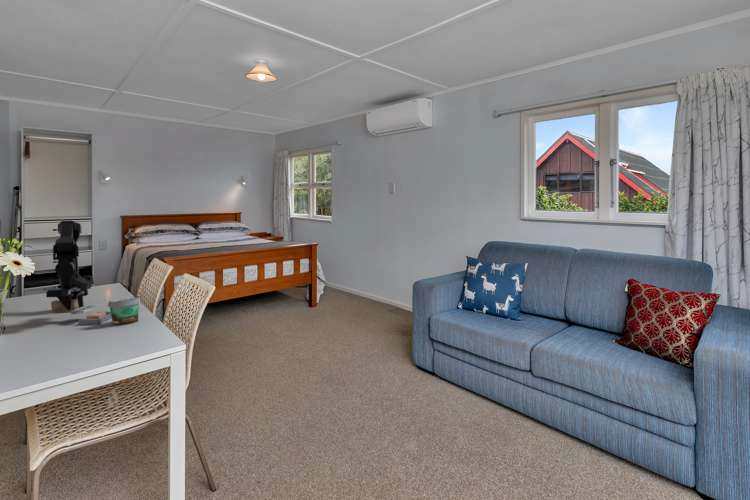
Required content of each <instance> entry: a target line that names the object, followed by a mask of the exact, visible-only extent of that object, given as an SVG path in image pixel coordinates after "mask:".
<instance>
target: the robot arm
mask: <svg viewBox="0 0 750 500" xmlns="http://www.w3.org/2000/svg"><path fill="white" fill-rule="evenodd" d="M82 231H83V230H82V225H81V223H79V222H76V221H74V220H61V221H59V223H57V233H58V234H59V238H58V239H56V240H55V242H54V244H53V245H52V246H53V247H52V256H53V257H52V260H53V261H57V264H56V265H55V267H54V271H55V273H56V274H57V275H56V279H59V284H58V285H57V287H54V288H50V289H48V290H47V291H45V297H46V298H57V299H58V300H60V301H61V303H62V304H63V305H64V307H65V308H66V309H67V310H70V308H71V299H78V305H79V308H81V307H83V306H85V304H84V297H87V296H89V290H90V289H91V288H92V285H94V284H95V281H94V277H93V276H91V275H88V276H86V277H82V276H81V274H80V273H79V272H80V271H79V261H78V260H79V259H78V257H80V255H79V254H80V248H79V246H78V241H79V240H80V238H81V234H82V233H83V232H82Z"/></svg>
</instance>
